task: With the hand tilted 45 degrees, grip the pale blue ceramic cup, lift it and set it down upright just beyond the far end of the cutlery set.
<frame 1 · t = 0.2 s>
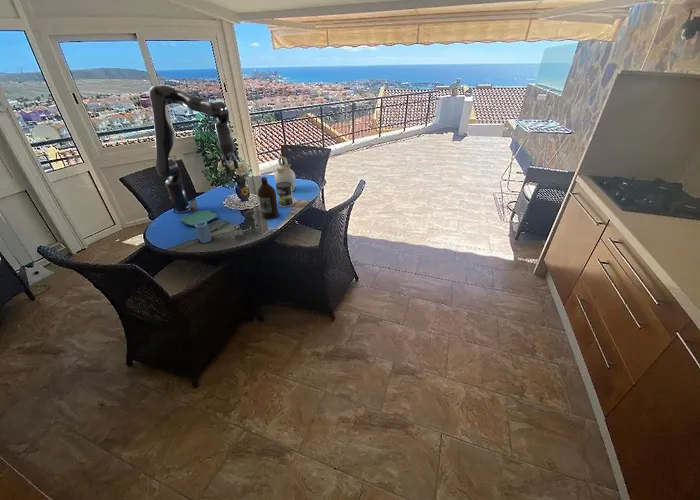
hand: (233, 170, 171), 29 cm above the table, tool pointing down, fingers open, 8 cm apart
cup: (206, 240, 162), on the table
brown bottle: (270, 216, 186), on the table
jug: (286, 189, 223), on the table
coffee can: (286, 204, 201), on the table
cutlery set: (204, 222, 181), on the table
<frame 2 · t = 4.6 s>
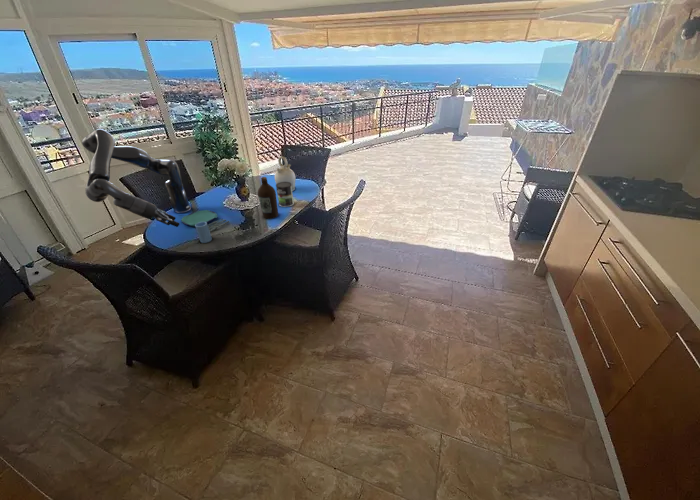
hand: (176, 222, 149), 15 cm above the table, tool tilted 45°, fingers open, 8 cm apart
nothing on the table moved.
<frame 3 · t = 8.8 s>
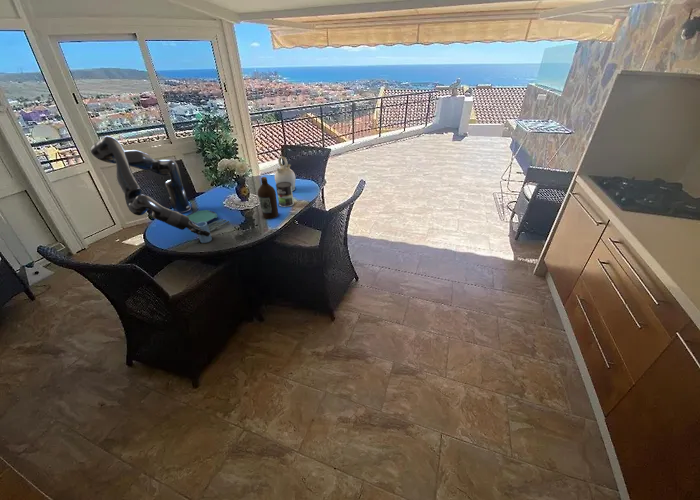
hand: (207, 232, 161), 4 cm above the table, tool tilted 45°, fingers closed on cup, 6 cm apart
cup: (206, 240, 162), on the table, touching gripper
everything else where it was.
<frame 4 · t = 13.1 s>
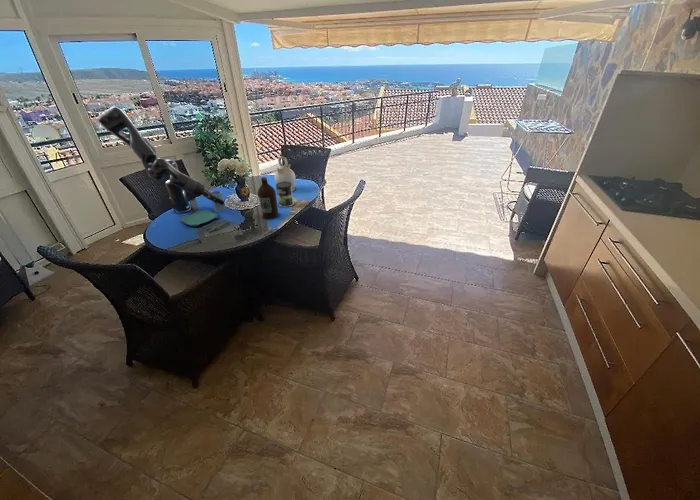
hand: (221, 201, 164), 17 cm above the table, tool tilted 45°, fingers closed on cup, 6 cm apart
cup: (220, 209, 166), point 13 cm above the table, touching gripper
everything else where it was.
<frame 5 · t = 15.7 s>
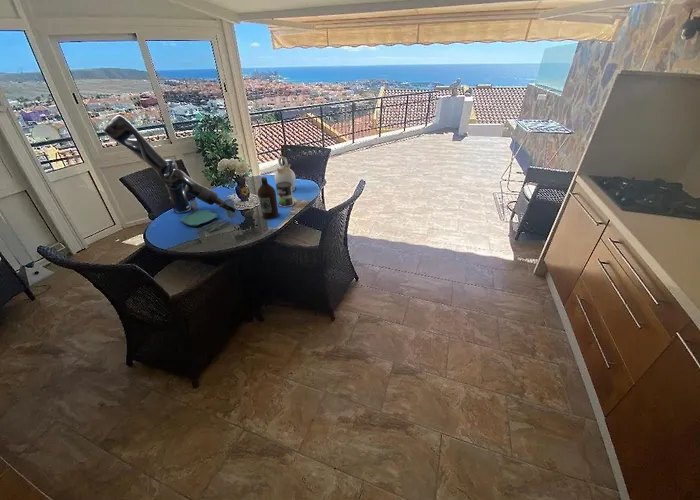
hand: (232, 208, 172), 10 cm above the table, tool tilted 45°, fingers closed on cup, 6 cm apart
cup: (231, 216, 174), point 6 cm above the table, touching gripper
everything else where it was.
when the fingers open (4 cm above the table, at t = 17.8 s): cup stays where it is, on the table.
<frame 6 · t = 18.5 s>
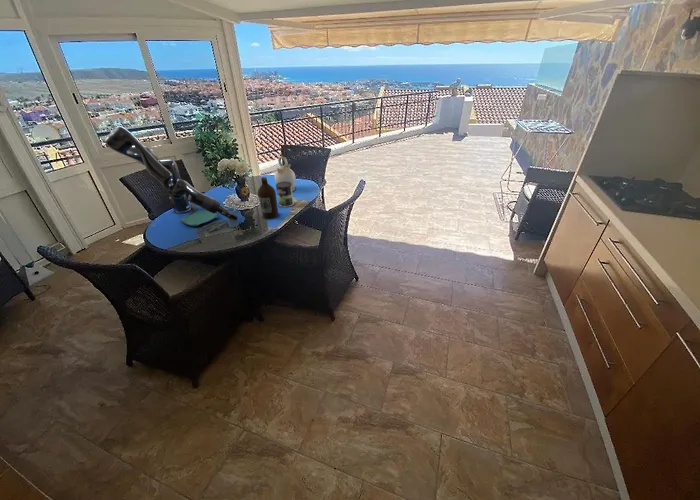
hand: (234, 216, 175), 5 cm above the table, tool tilted 45°, fingers open, 8 cm apart
cup: (234, 224, 177), on the table
everything else where it was.
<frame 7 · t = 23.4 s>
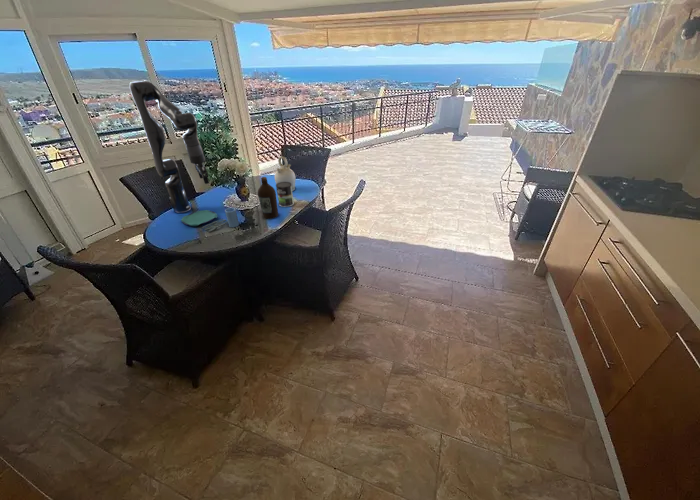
hand: (204, 180, 169), 25 cm above the table, tool pointing down, fingers open, 8 cm apart
nothing on the table moved.
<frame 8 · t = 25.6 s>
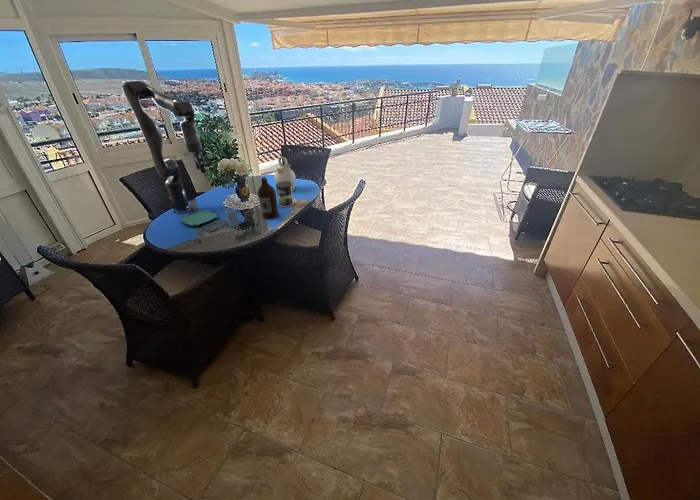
hand: (201, 170, 169), 30 cm above the table, tool pointing down, fingers open, 8 cm apart
nothing on the table moved.
at the end: cup inside the target area on the table beside the cutlery set (0.5 cm from its centre), on the table; cup tilted 0°; the gripper is holding nothing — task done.
